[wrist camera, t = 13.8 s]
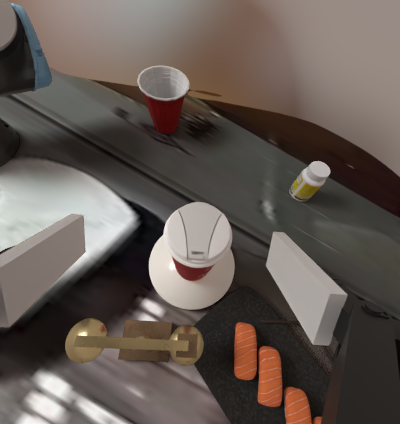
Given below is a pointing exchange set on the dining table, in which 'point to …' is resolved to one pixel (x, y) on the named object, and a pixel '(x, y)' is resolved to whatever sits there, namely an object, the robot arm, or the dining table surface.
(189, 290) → the white round disc
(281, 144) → the dining table surface
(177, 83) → the plastic cup
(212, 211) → the coffee cup
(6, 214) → the dining table surface
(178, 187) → the dining table surface
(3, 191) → the dining table surface
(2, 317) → the robot arm
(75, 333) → the balance
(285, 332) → the sushi plate
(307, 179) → the supplement bottle
